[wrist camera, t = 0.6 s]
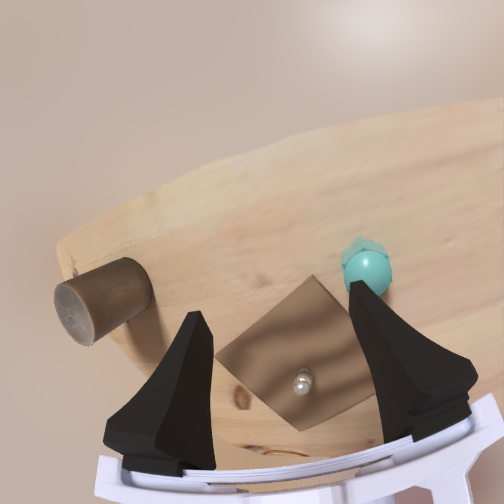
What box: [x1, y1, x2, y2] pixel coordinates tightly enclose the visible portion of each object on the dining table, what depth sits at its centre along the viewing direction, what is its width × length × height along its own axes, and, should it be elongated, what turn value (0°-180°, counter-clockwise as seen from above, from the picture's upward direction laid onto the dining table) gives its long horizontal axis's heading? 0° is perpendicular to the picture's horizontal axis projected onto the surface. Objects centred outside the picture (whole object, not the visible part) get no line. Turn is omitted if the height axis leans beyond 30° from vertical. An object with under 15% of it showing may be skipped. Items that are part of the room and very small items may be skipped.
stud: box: [293, 368, 313, 395], centre depth 34 cm, size 2×2×5 cm
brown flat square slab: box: [214, 274, 376, 431], centre depth 37 cm, size 20×20×1 cm
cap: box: [342, 237, 392, 296], centre depth 29 cm, size 5×6×6 cm
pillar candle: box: [54, 257, 152, 346], centre depth 38 cm, size 10×10×15 cm
